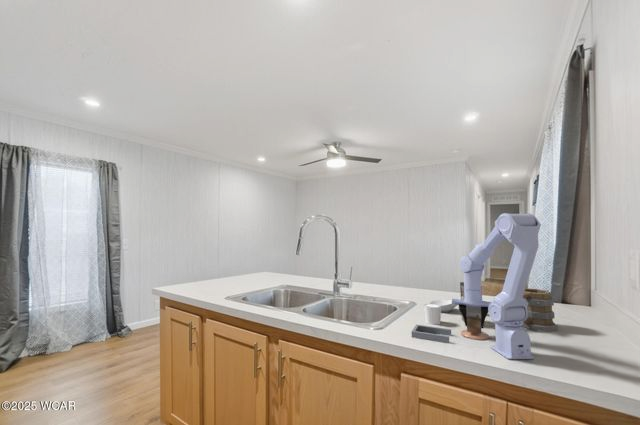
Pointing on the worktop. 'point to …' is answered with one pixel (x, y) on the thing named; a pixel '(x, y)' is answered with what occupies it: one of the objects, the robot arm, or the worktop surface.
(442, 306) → the spoon rest
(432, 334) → the grey shallow rectangular tray
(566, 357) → the worktop surface
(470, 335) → the peach dome
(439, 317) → the white cylinder
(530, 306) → the tankard
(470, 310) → the coffee box
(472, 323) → the block
